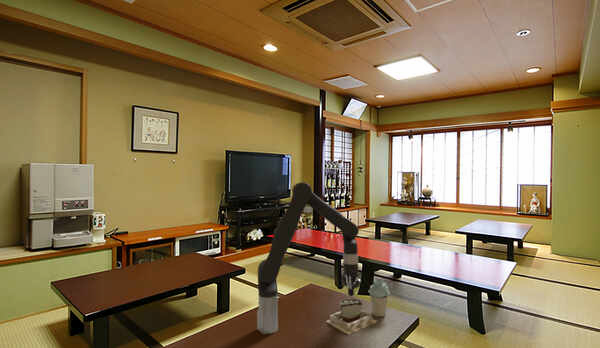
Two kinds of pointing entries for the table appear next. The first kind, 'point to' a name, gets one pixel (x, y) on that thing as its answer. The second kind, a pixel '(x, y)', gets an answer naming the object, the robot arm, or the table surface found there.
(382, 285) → the ice cream cone
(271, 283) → the robot arm
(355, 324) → the holder
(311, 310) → the table surface
